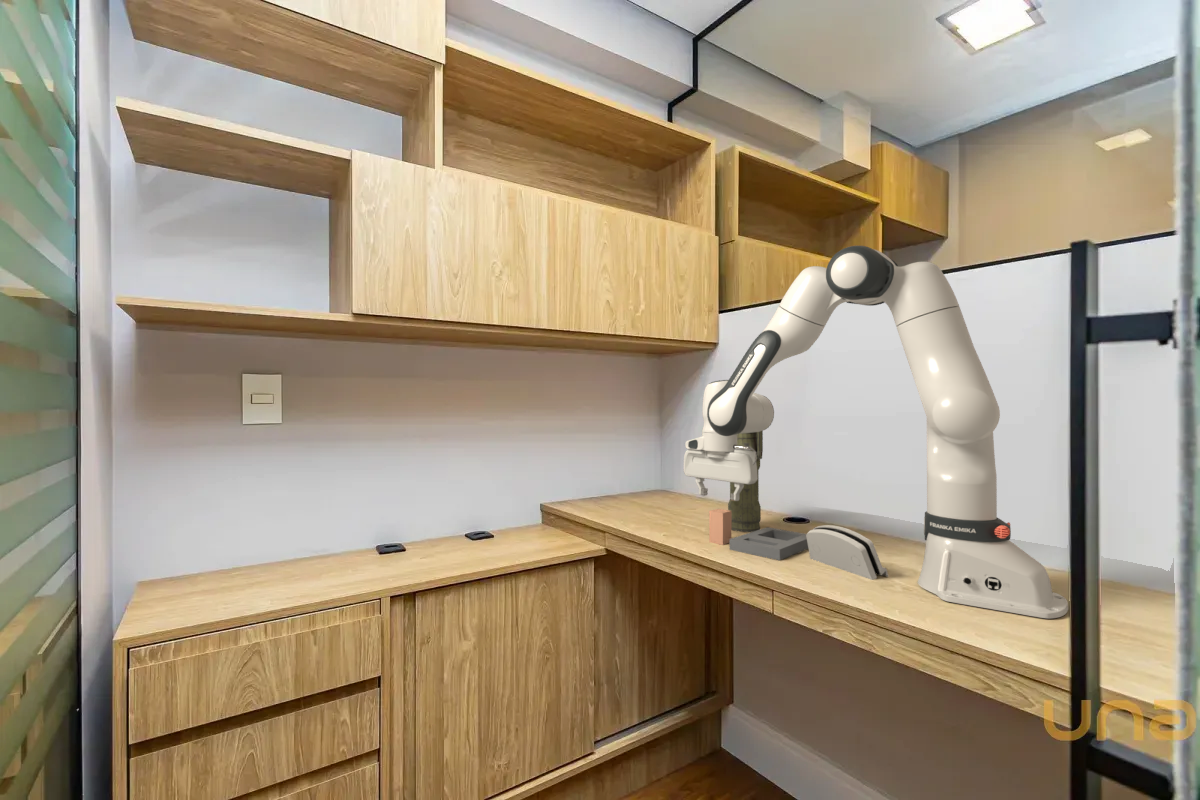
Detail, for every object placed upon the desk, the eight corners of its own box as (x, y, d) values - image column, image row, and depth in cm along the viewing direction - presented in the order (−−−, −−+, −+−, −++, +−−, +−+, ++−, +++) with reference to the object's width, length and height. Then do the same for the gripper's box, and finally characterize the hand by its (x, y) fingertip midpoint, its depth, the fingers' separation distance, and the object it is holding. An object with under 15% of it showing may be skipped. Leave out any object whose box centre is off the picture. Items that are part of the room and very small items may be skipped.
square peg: (731, 542, 139) (731, 510, 139) (722, 545, 136) (722, 513, 136) (718, 539, 142) (718, 508, 142) (709, 542, 139) (709, 510, 139)
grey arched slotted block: (890, 576, 111) (878, 532, 110) (875, 587, 110) (862, 542, 108) (825, 555, 127) (814, 516, 125) (811, 565, 125) (799, 525, 123)
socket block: (815, 545, 136) (815, 535, 136) (779, 560, 123) (779, 549, 123) (767, 536, 145) (767, 527, 145) (729, 549, 132) (729, 539, 132)
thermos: (735, 522, 162) (735, 404, 162) (771, 529, 153) (770, 404, 153) (717, 527, 156) (717, 404, 156) (753, 534, 147) (753, 405, 148)
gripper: (762, 446, 134) (762, 502, 134) (694, 440, 149) (693, 491, 149) (749, 447, 130) (748, 505, 130) (680, 441, 144) (679, 493, 144)
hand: (718, 497), depth 139 cm, fingers open, 8 cm apart
